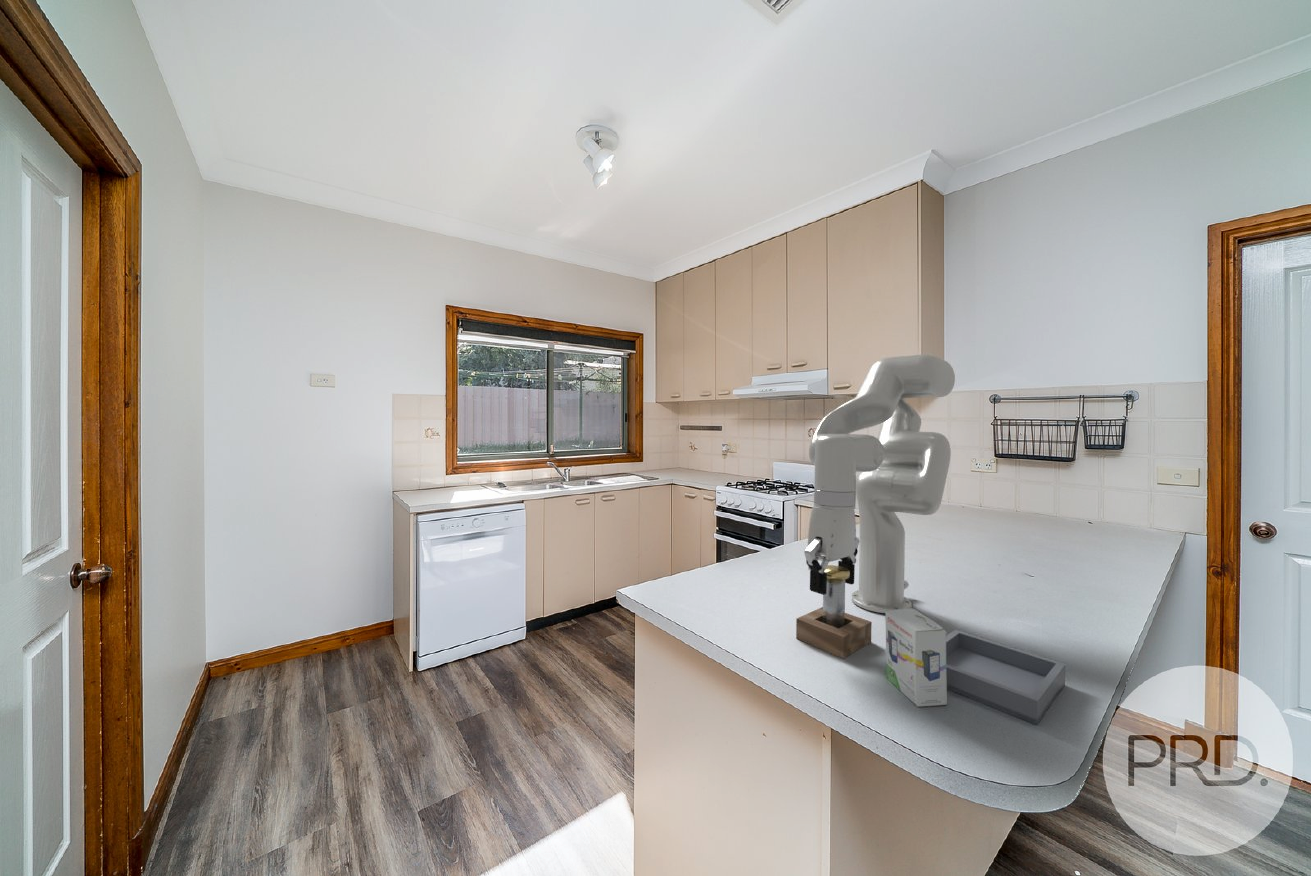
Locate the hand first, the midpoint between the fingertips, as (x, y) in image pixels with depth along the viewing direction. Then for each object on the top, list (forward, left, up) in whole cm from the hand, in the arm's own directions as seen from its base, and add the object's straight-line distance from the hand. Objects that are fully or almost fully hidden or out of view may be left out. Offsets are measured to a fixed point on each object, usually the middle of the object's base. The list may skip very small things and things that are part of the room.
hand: (832, 587), depth 92 cm
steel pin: (-1, 0, -11) cm, 11 cm away
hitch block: (-1, 0, -11) cm, 11 cm away
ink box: (+5, +17, -11) cm, 21 cm away
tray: (-8, +24, -11) cm, 27 cm away
